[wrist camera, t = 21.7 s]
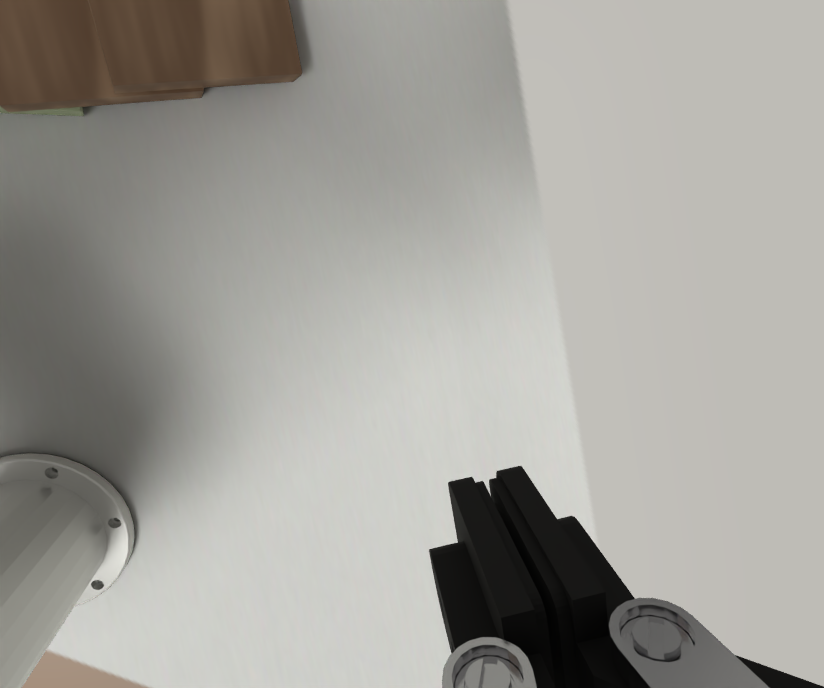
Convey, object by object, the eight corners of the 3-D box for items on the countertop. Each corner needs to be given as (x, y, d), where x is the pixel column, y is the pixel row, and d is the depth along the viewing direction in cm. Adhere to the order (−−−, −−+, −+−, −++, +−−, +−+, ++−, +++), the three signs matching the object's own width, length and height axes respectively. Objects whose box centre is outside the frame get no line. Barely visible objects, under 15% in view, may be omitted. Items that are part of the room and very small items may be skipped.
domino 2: (293, 81, 33) (114, 93, 29) (275, -11, 31) (84, -12, 27) (302, 73, 31) (113, 85, 27) (283, -25, 30) (81, -28, 26)
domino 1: (201, 97, 32) (8, 112, 29) (178, 4, 31) (-28, 7, 27) (204, 90, 31) (-1, 105, 27) (180, -8, 29) (-40, -7, 25)
